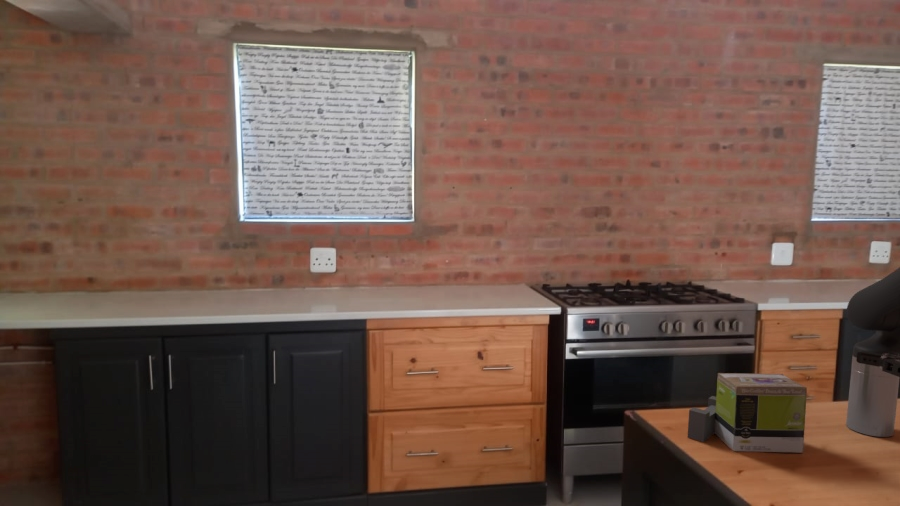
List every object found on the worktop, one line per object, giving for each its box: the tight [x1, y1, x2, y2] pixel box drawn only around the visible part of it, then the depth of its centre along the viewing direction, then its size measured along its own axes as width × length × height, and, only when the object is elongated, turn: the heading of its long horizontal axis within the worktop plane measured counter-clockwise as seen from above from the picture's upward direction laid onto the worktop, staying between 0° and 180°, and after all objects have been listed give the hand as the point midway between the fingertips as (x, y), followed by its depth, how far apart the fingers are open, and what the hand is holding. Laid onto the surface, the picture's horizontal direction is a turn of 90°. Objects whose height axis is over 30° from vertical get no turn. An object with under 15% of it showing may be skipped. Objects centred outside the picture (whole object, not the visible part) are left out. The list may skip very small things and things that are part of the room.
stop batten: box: [687, 395, 716, 443], centre depth 136 cm, size 14×4×6 cm, turn 136°
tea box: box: [714, 372, 808, 454], centre depth 130 cm, size 15×10×15 cm, turn 89°
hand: (857, 356), depth 115 cm, fingers closed
